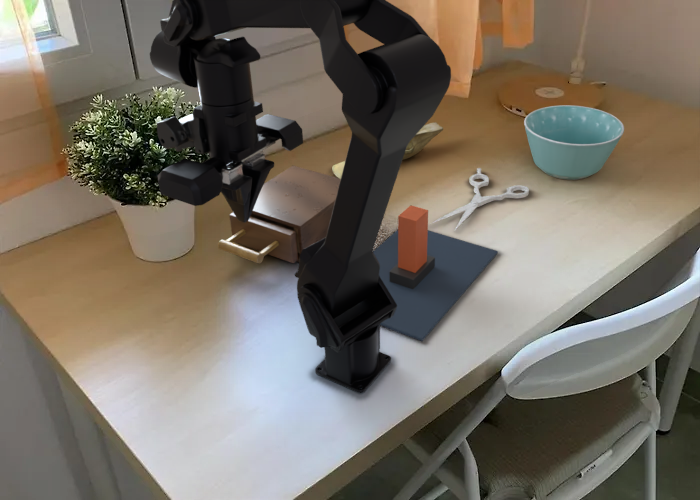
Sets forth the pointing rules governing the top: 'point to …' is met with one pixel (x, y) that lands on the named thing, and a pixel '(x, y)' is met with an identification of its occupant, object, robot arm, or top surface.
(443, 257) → the mat
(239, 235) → the drawer
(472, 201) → the scissors
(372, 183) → the robot arm
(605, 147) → the bowl
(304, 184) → the cabinet
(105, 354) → the top surface
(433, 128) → the tool
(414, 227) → the stamp
